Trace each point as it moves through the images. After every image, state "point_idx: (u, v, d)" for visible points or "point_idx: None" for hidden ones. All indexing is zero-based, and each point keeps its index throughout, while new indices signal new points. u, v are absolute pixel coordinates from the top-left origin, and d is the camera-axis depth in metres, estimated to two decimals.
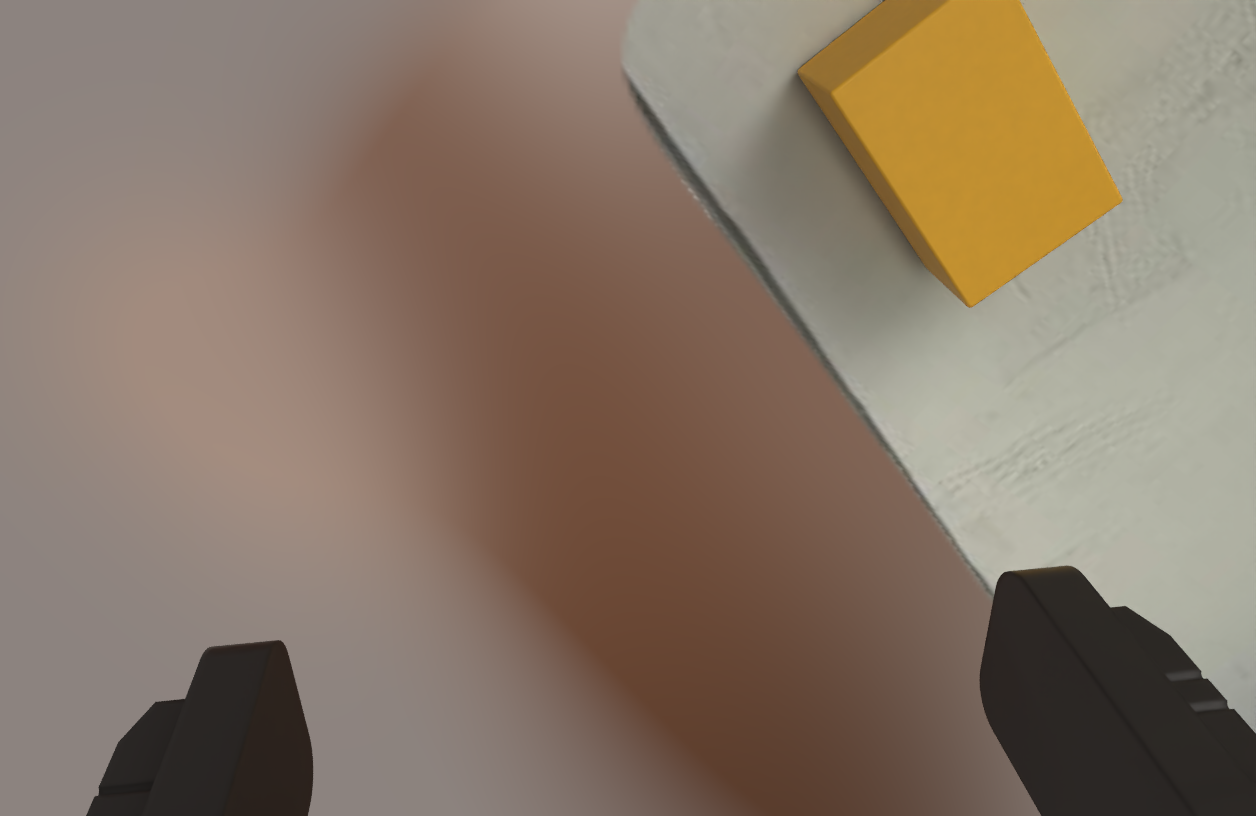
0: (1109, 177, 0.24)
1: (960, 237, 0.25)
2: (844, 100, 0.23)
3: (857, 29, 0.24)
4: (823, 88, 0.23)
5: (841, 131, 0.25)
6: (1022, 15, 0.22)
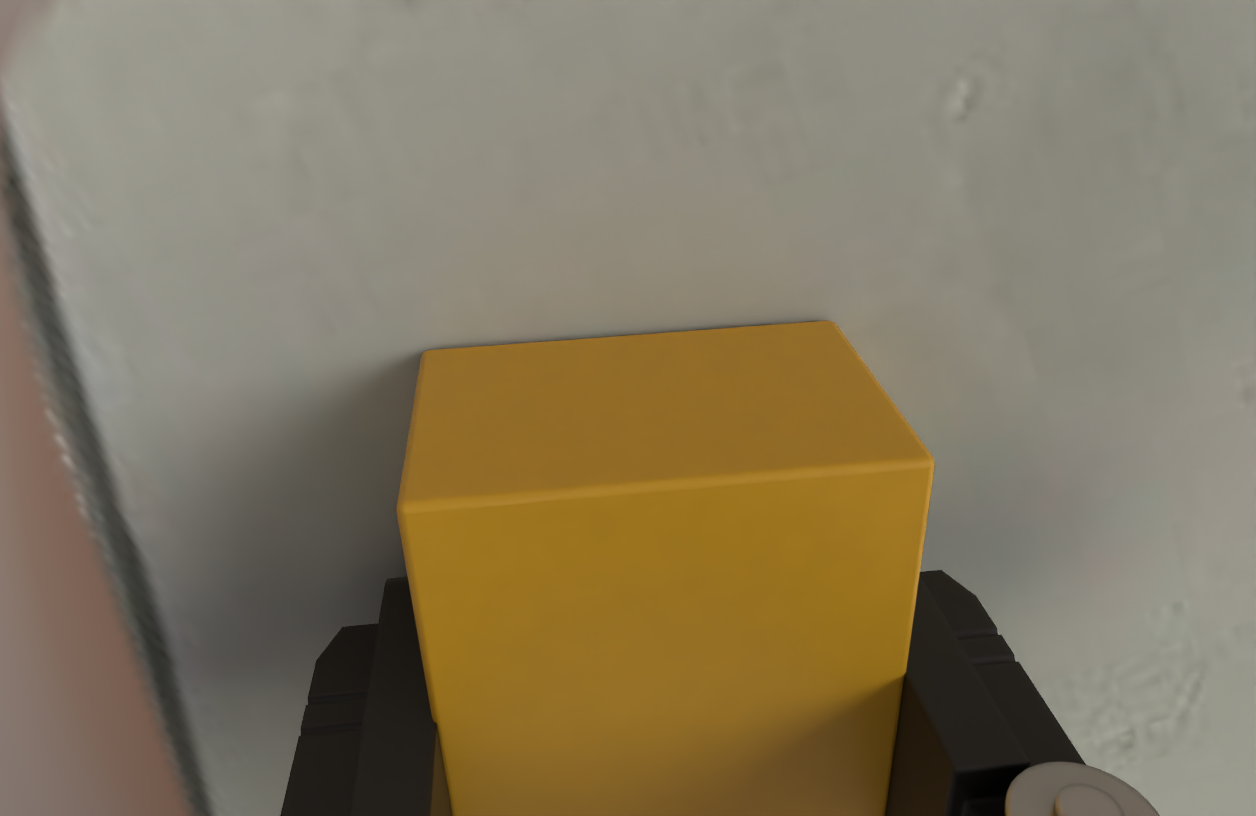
0: None
1: None
2: (425, 539, 0.08)
3: (583, 358, 0.10)
4: (406, 467, 0.08)
5: None
6: (909, 588, 0.09)
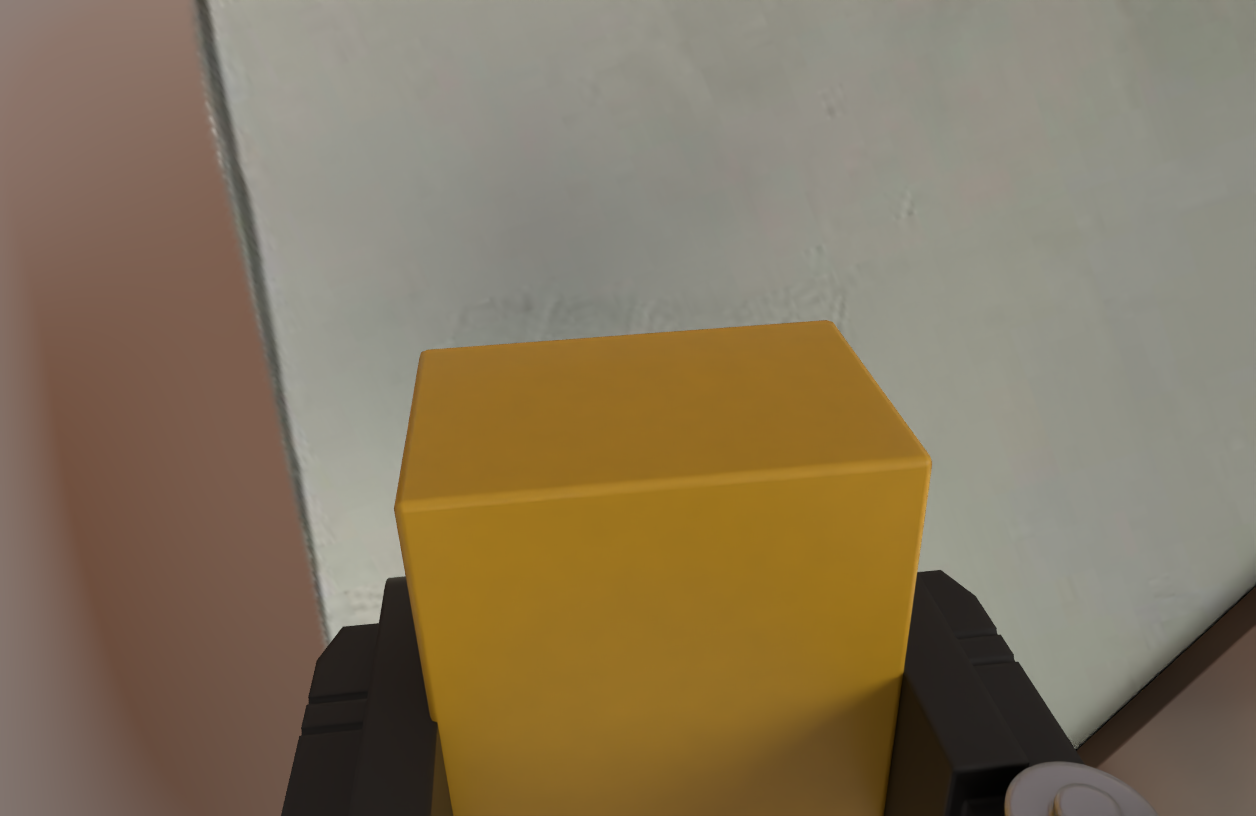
0: None
1: None
2: (423, 539, 0.08)
3: (581, 357, 0.10)
4: (403, 466, 0.08)
5: None
6: (906, 587, 0.09)
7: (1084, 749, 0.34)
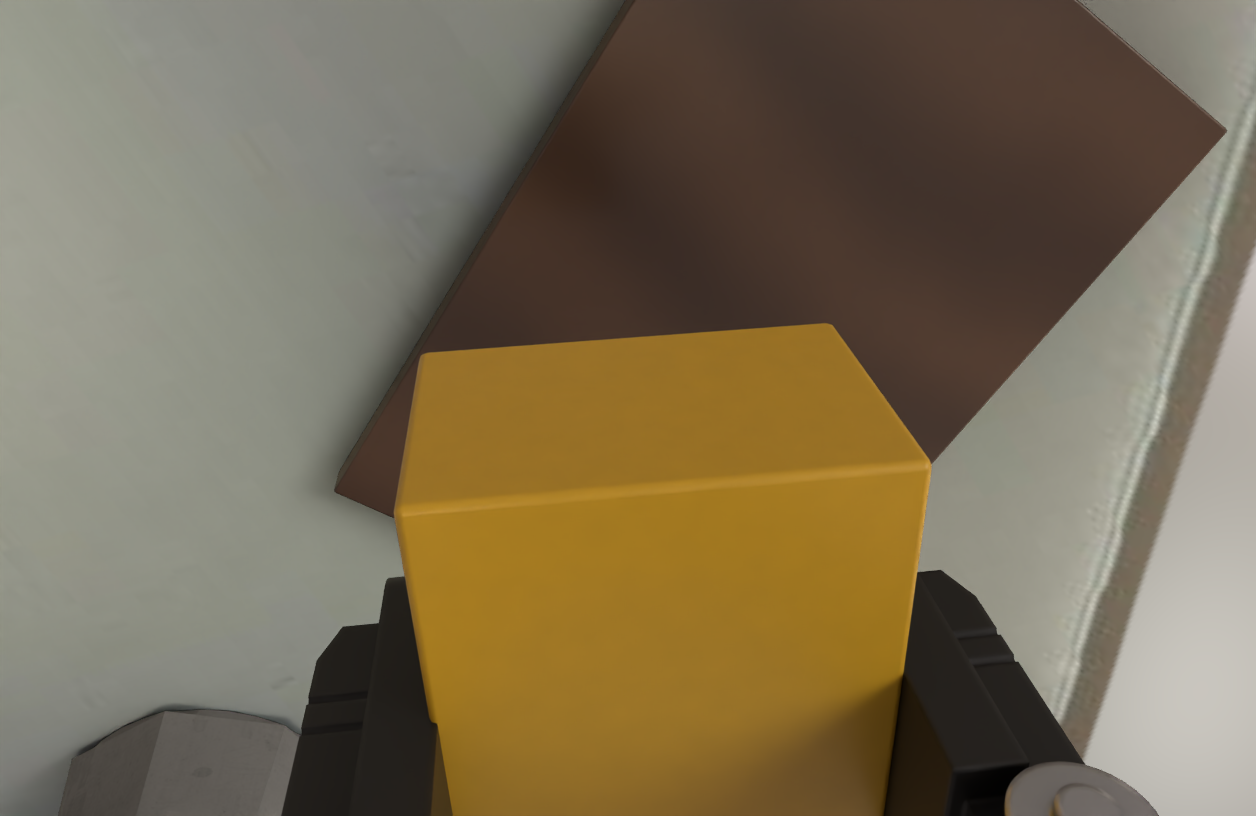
0: None
1: None
2: (422, 543, 0.08)
3: (581, 360, 0.10)
4: (403, 470, 0.08)
5: None
6: (906, 591, 0.09)
7: (375, 413, 0.26)
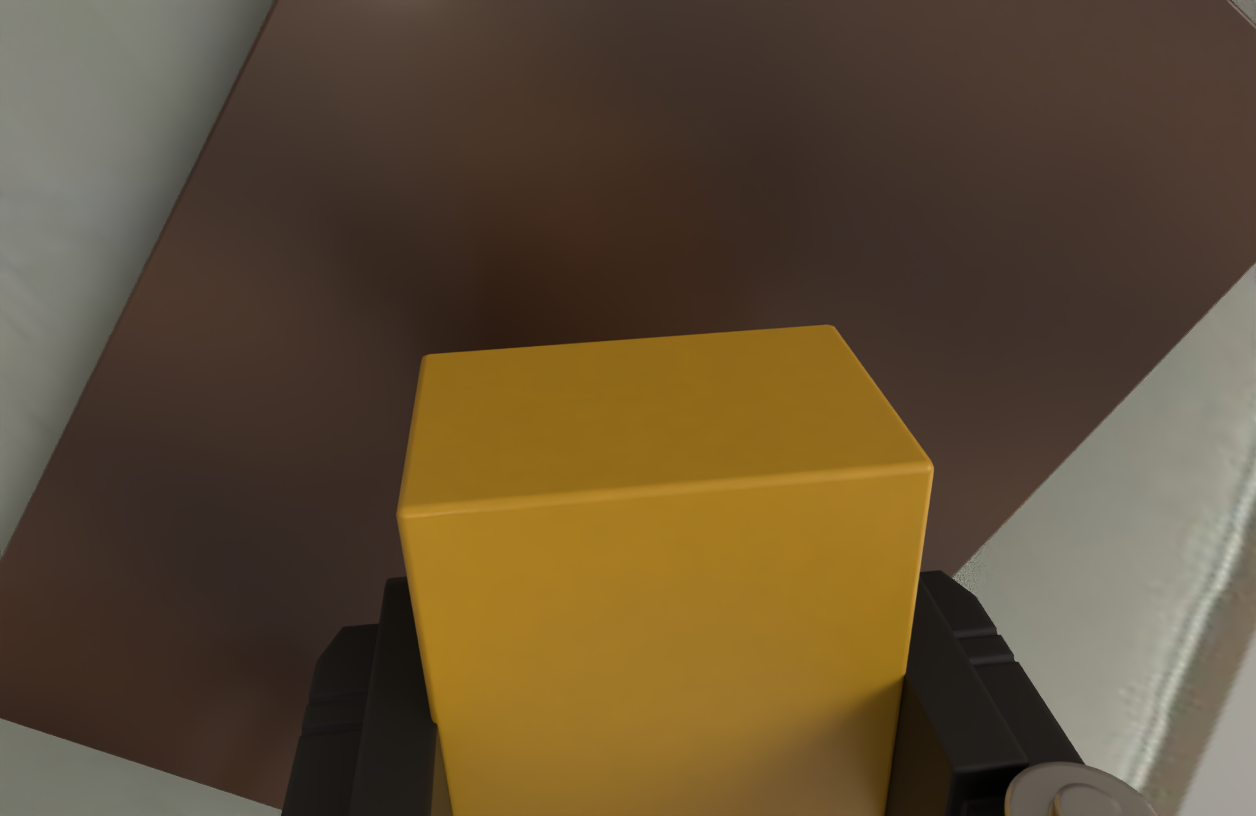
0: None
1: None
2: (424, 545, 0.08)
3: (583, 362, 0.10)
4: (405, 472, 0.08)
5: None
6: (908, 592, 0.09)
7: None
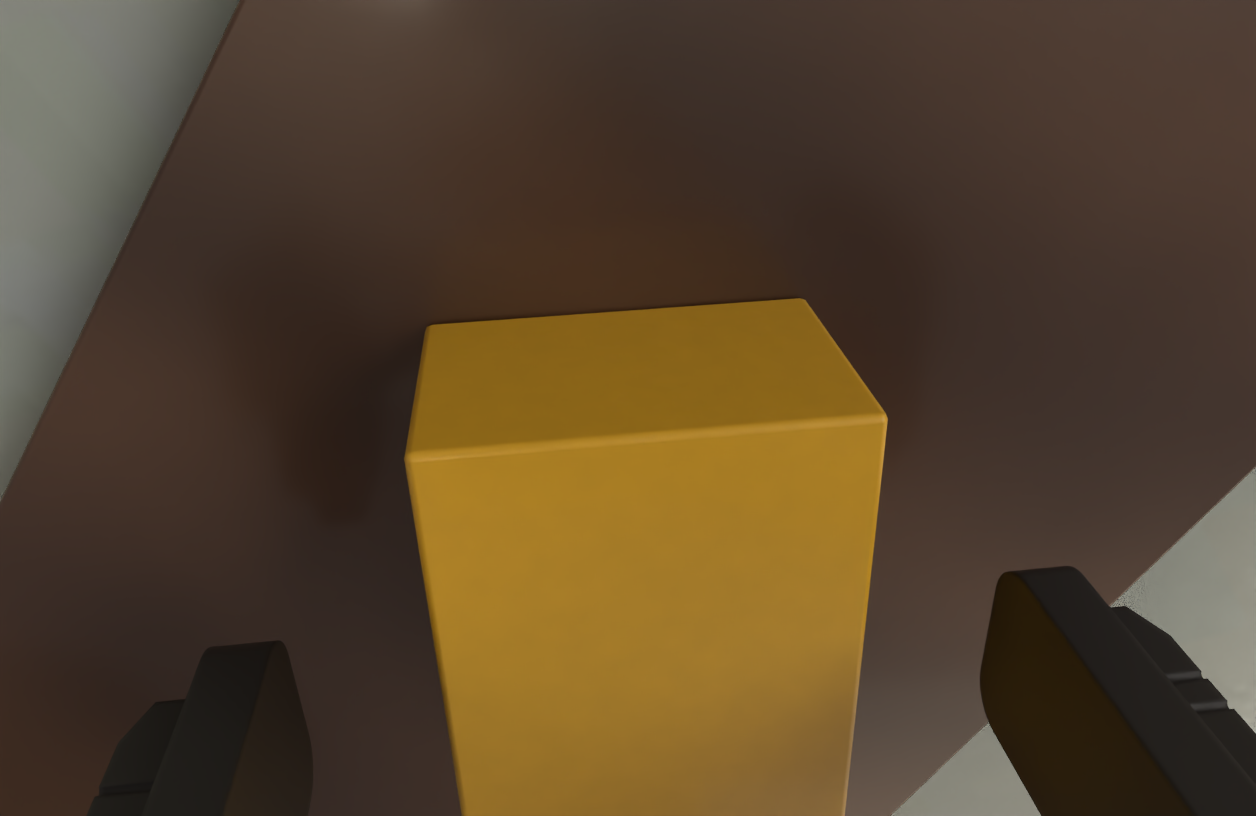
0: None
1: None
2: (429, 487, 0.09)
3: (573, 331, 0.11)
4: (412, 423, 0.09)
5: None
6: (867, 535, 0.10)
7: None
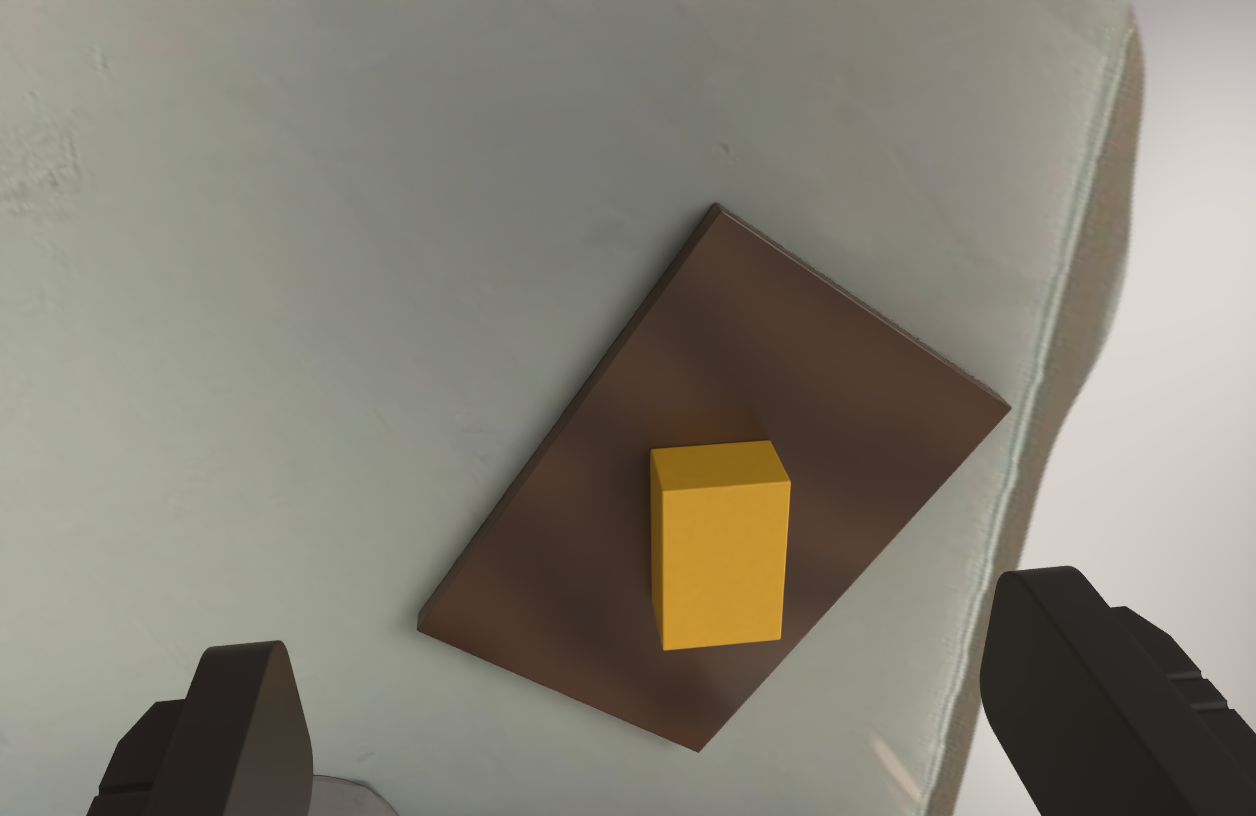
0: (780, 622, 0.37)
1: (683, 608, 0.36)
2: (667, 499, 0.34)
3: (698, 452, 0.36)
4: (660, 482, 0.34)
5: (654, 502, 0.36)
6: (786, 514, 0.35)
7: (446, 577, 0.39)
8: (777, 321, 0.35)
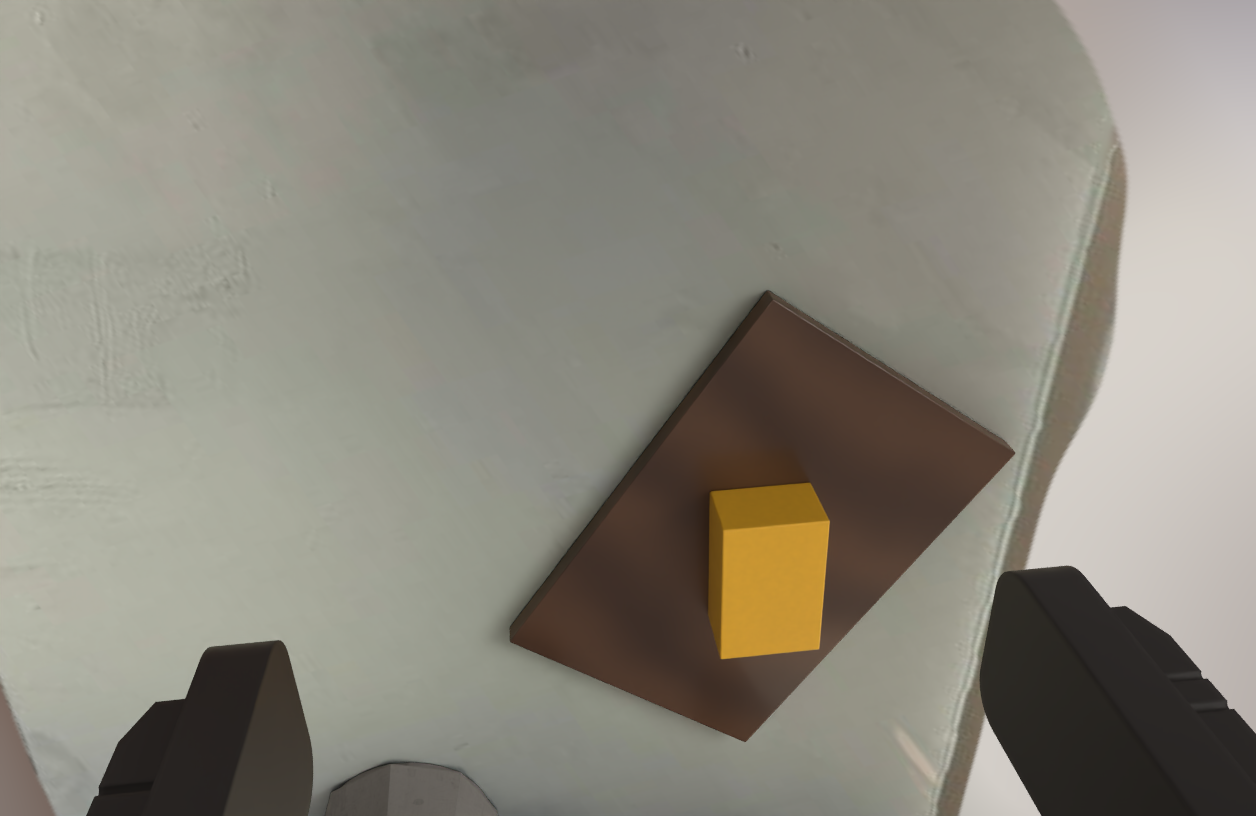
0: (819, 635, 0.44)
1: (738, 625, 0.43)
2: (727, 537, 0.41)
3: (750, 494, 0.43)
4: (720, 522, 0.41)
5: (713, 536, 0.43)
6: (825, 547, 0.41)
7: (534, 597, 0.46)
8: (818, 386, 0.41)
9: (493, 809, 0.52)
